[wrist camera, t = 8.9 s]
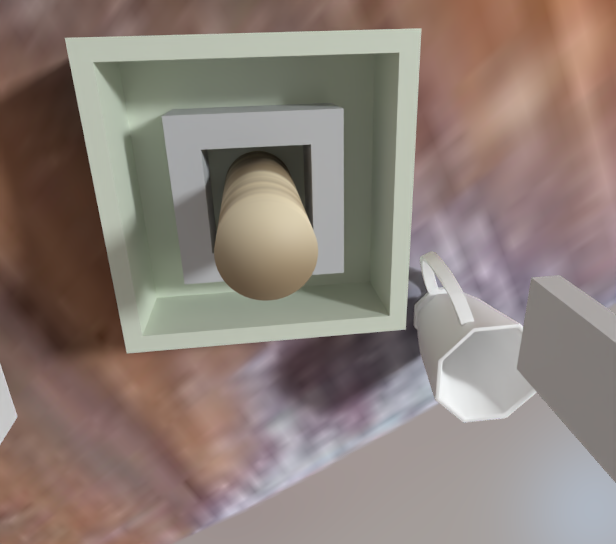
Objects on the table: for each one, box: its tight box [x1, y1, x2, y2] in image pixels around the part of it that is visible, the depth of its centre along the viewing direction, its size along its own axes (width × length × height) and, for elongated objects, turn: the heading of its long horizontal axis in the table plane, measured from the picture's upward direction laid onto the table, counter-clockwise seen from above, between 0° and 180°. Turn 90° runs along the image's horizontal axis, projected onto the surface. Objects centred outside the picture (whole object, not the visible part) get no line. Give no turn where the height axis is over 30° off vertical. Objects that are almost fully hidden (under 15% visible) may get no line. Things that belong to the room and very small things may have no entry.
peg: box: [214, 151, 318, 301], centre depth 25 cm, size 4×4×12 cm
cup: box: [413, 251, 536, 423], centre depth 32 cm, size 7×10×8 cm
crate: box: [65, 29, 421, 353], centre depth 29 cm, size 16×16×6 cm
